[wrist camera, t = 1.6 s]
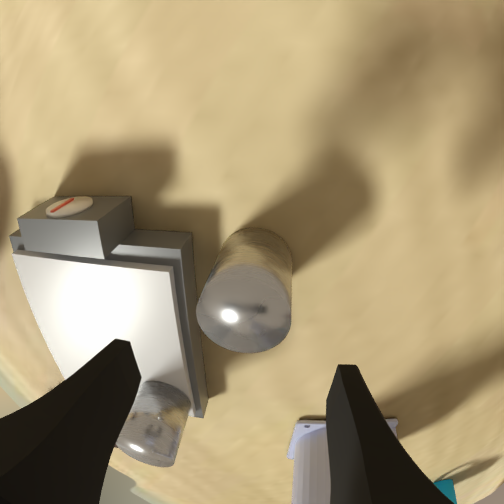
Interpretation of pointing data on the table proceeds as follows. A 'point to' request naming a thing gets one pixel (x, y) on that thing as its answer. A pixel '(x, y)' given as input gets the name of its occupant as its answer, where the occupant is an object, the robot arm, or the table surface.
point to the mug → (447, 489)
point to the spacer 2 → (248, 293)
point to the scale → (112, 289)
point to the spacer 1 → (155, 424)
